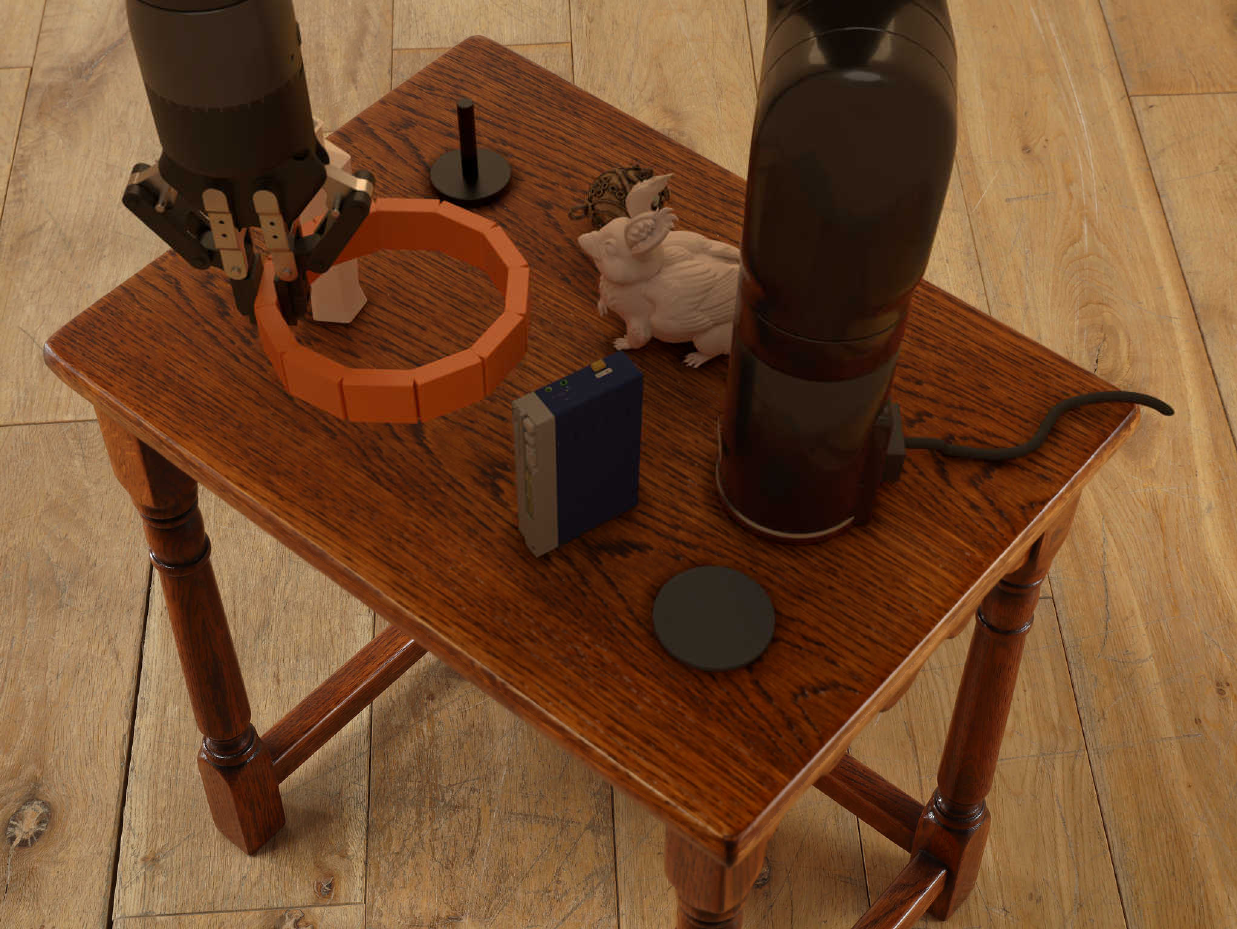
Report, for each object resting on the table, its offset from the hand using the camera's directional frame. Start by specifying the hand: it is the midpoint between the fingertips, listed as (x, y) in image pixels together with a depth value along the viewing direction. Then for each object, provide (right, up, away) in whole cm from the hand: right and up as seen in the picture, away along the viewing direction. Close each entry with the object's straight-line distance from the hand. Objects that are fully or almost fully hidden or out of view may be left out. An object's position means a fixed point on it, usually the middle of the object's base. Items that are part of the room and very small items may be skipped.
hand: (277, 314), depth 83 cm
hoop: (+7, -1, 0) cm, 7 cm away
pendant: (+19, +8, +23) cm, 31 cm away
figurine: (+24, 0, +16) cm, 29 cm away
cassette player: (+17, -12, +6) cm, 21 cm away
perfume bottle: (0, +2, +17) cm, 18 cm away
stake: (+8, +12, +26) cm, 30 cm away
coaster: (+25, -17, +1) cm, 30 cm away
